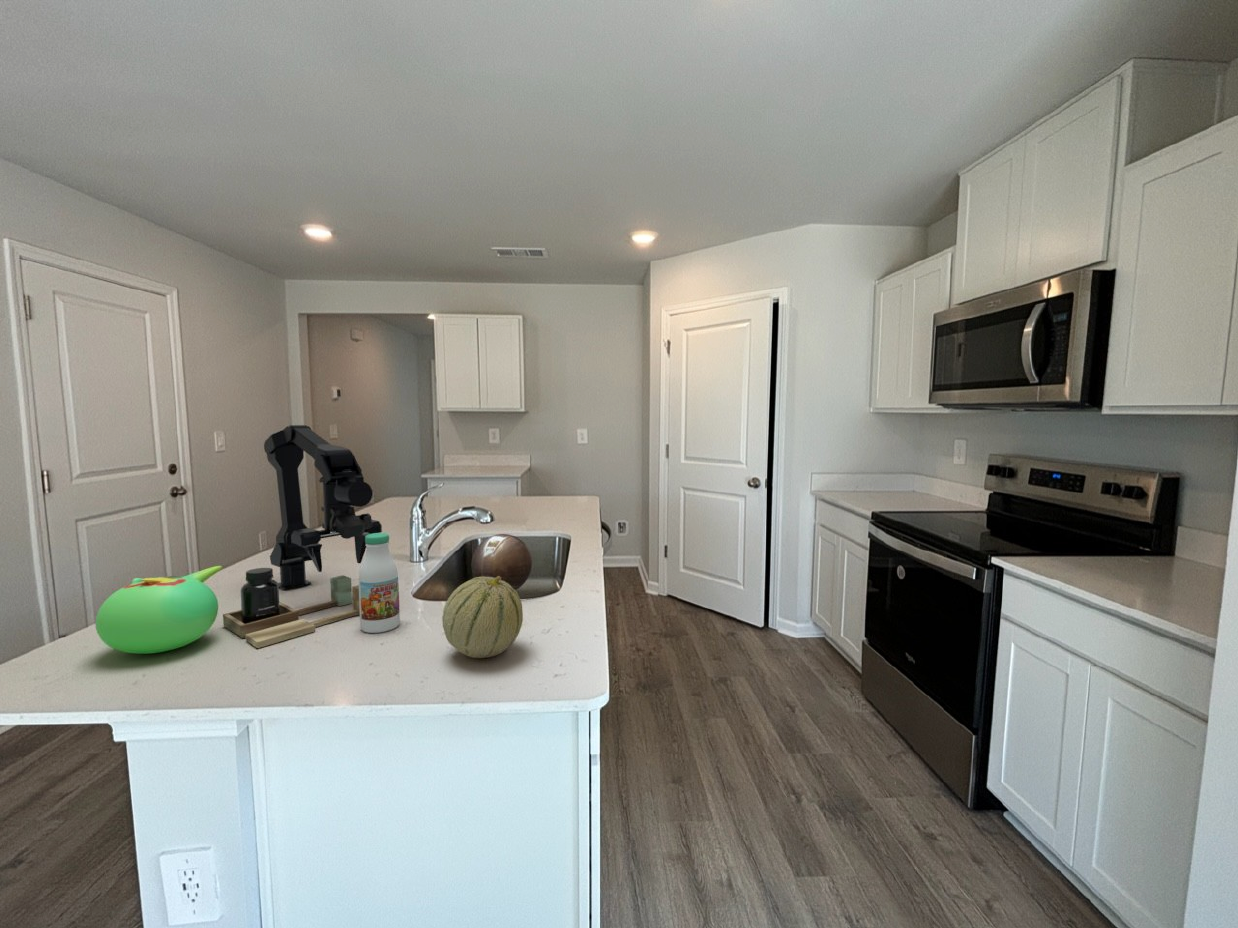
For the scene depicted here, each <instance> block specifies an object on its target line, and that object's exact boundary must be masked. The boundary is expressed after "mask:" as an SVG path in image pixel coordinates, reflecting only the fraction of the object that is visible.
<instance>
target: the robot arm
mask: <svg viewBox="0 0 1238 928" xmlns="http://www.w3.org/2000/svg"><path fill="white" fill-rule="evenodd" d="M263 448H264V453H265V454H266V458H267V461H268V462H269V464H270V465H271V466H272V467H273V468H274V469H275V471H276V481H277V489H278V490H277V491H278V499H279V509H280V518H281V527H280V528H279V531H278V532H277V534H276V537H275V545H274V548H273V550H272V551H271V553H270V555H269V560H270V565H271V566H275V567H278V568H279V574H280V575H279V577H280V582H277V583H278V585H279V589H282V590H285V591H287V590H291V589H296V588H300V587H305V586H309V585H312V582H311V581H309V580H307V577H306V562H309V561H312V562H313V564H314V567H315V568H316V570H317V572H319V573H321V572H322V571H323V562H322V561H323V560H322V554H321V553H322V552H321V549H322V546H323V544H321V543H320V541H322V540H321V539H326V538H333V537H339V536H341V539H344V540H345V539H346V540H348V539H349V540H350V539H351V538H354V547H355V548H354V550H355V551H354V552H355V559H356V563H357V564H362V562H363V559H364V556H365V554H366V553H365V552H366V551H367V546H365V545H366V542H365V537H366V535H369V534H373V533H383V526H382V523H381V522H380V521H379V520H375V519H372V515H371V514H370V513H362V514H359V515H357V514H356V512H355V507H359V508H362V507H365V506H366V505H368V504H369V503H370V502H371V500H372V499H373V496H374V495H373V494H374V493H373V490H372V488H371V485H370V484H368V482H365V481H364V480H365V478H364V476H363V470H362V468H361V467H360V465H359V463H358V461H357V460H356V456H355V455H354V453H353V452H352V451H351V450H350V449H349V448H347V447H344V446H339V445H333V444H331V443H329V442H328V440H325V438H322V437H321V436H320V435H318V434H317V433H316V432H315V431H313V430H312V427H310V426H309V425H306V424H294V425H293V424H291V425H287V426H286V427H284V429H281V430H279V431H277V432H275V433H274V432H273V433H272V434H271V435H269V436H268V437H267V439H266V440H265V441H264V443H263ZM305 453H306V454H307V455H309V456H310V457H312V458H313V460H314V464H313V467H315V468H316V469H317V471H318V472H319V473H320V474H321V477H320V479H319V480H318V482H320V483H321V484H322V492H323V493H322V494H323V495H322V496H323V506H321V509H320V510H321V512H323V514H324V515H323V517H324V518H323V519H324V523H322V524H321V525H322V526H321V527H322V530H318V529H314V528H310V527H307V525H306V524H305V523H304V515H303V505H302V495H301V488H300V487H301V486H300V478H299V467H300V465H301V464H302V462H303V460H304V456H305V455H304V454H305Z"/></svg>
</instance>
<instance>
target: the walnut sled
mask: <svg viewBox="0 0 1238 928" xmlns="http://www.w3.org/2000/svg"><path fill="white" fill-rule="evenodd" d="M329 579H330V580H329V581H330V601H326V602H323V603H318V604H316V605H315V604H314V605H311V606H307V607H303V608H299V609H295V608H293V607H290V606H289V605H287V604H285V603H283V602H281V601H279V609H280V615H277V616H274V617H270V618H266V619H262V620H258V621H255V622H251V623H247V624H244V623H242V614H241V609H239V610H235V611H231V612H227V613H222V620H223V621H222V623H223V624H222V625H223V627H225V628H227V630H229V631H230V632H233V633H234V634H236V635H237V636H239V637H240V638H241V639H244V638H245V639H246V637H245V635H246V634H249V633H253V632H256V631H260V630H264V629H267V628H271V627H275V626H278V625H282V624H285V623H289V622H293V621H296V620H300V616H301V615H304V614H309V613H313V612H317V611H319V610H323V609H327V608H330V607H335V606H338V607H341V606H345V605H348V604H349V605H350V604H353V592H352V587H353V586H352V578H351V577H348V576H346V575H344V574H343V575H338V576H334V577H330V578H329Z"/></svg>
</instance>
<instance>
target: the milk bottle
mask: <svg viewBox="0 0 1238 928" xmlns="http://www.w3.org/2000/svg"><path fill="white" fill-rule="evenodd" d="M365 542H366V545H365V546H367V547H366V551H365V552H366V553H365V554H364V557H363V560H362V562H361V566H360V569H359V572H358V573H359V574H358V585H359V606H360V615H359V623H360V624H359V625H360V630H361V631H362V632H364V633H368V634H369V633H370V634H376V633H377V634H379V633H386V632H389V631H391V630H394V629H396V628H397V627H398V626H399V625H400V622H401V621H400V620H401V619H400V618H401V617H400V616H401V615H400V614H401V613H400V612H401V611H400V591H399V590H400V587H399V586H400V585H399V571H398V567H397V564H396V562H395V560H394V558H393V556H392V555H391V552H390V549H389V544H390V535H389V533H387V532H381V533H373V534H369V535H366V537H365Z"/></svg>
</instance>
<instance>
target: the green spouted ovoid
mask: <svg viewBox="0 0 1238 928" xmlns="http://www.w3.org/2000/svg"><path fill="white" fill-rule="evenodd" d="M221 569H223V566H222V565H216V566H215V565H214V566H211V567H207V568H204V569H202V570H199V571H195V572H193V573H190V574H187V575H184V576H175V575H170V576H158V577H145V578H141V577H135V578H132V580H131V583H130V584H128V585H126V586H123V587H121V588H119V589H118V590H116V591H115V592H113V593H112V594H111V595H109V597H108V598H106V599H105V600H104V602H103V603H102V604H101V606H100V608H99V609H98V611H97V614H96V617H95V629H96V633H97V635H98V637H99V638H100V640H101V641H102V642H103V643H104V644H105V645H106V646H108V647H110V648H111V649H114V650H116V651H118V652H119V651H120V652H124V653H129V654H136V655H137V654H138V655H148V654H150V655H151V654H158V653H164V652H168V651H172V650H173V651H174V650H176V649H180V648H182V647H185V646H187V645H189V644H191V643H193V642H195V641H196V640H198V639H200V638H201V637H202V636H204V635H205V634H206V633H207V632H208V631H209V630H210V629H211V627H212V626H213V625H214V622H215V621H216V619H217V617H218V614H219V613H218V612H219V602H218V601H219V600H218V598H217V596H216V594H215V591H213V590H212V588H211V587H209V586H208V585H207V584H205V582H206V581H207V580H209V579H210V578H211V577H213V576H214V575H216V574H217V573H218V572H219V571H221Z"/></svg>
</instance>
